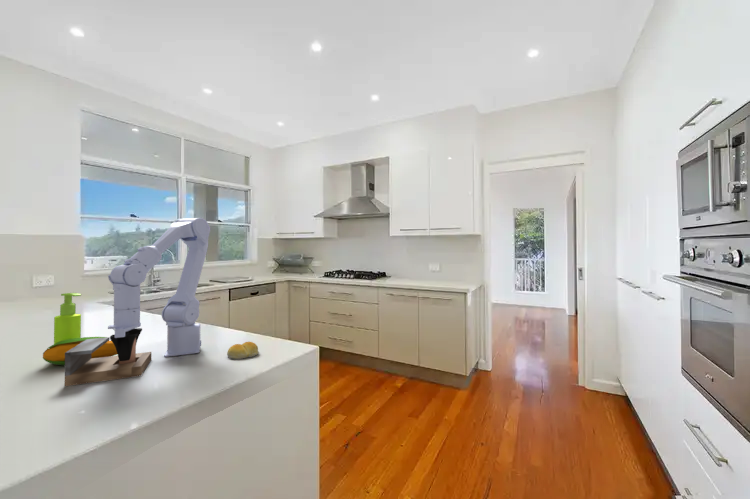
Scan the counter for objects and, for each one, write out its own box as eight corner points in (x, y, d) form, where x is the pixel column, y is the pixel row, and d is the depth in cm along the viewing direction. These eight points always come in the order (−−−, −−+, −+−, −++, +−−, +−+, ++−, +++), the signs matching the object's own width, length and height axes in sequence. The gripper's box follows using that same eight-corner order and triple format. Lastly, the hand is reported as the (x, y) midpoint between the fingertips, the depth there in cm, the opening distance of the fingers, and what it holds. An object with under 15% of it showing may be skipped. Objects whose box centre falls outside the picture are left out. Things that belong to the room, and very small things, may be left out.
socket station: (151, 360, 95) (151, 333, 96) (140, 375, 83) (141, 344, 83) (86, 368, 89) (86, 339, 89) (64, 386, 76) (64, 352, 76)
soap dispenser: (66, 362, 94) (67, 294, 94) (48, 361, 95) (49, 293, 95) (88, 356, 99) (88, 292, 100) (70, 355, 101) (71, 291, 101)
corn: (49, 336, 93) (133, 329, 102) (50, 362, 94) (134, 352, 103) (37, 344, 87) (128, 336, 96) (37, 372, 87) (128, 361, 96)
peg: (137, 363, 90) (138, 334, 90) (132, 367, 86) (132, 337, 86) (122, 364, 88) (122, 335, 89) (116, 369, 85) (116, 338, 85)
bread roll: (224, 355, 101) (224, 342, 101) (254, 350, 106) (254, 338, 106) (230, 362, 94) (230, 348, 94) (261, 356, 99) (261, 343, 99)
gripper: (116, 305, 92) (116, 353, 92) (99, 313, 79) (98, 368, 79) (146, 304, 95) (145, 349, 95) (134, 311, 82) (133, 364, 82)
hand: (126, 358), depth 87 cm, fingers closed on peg, 3 cm apart
